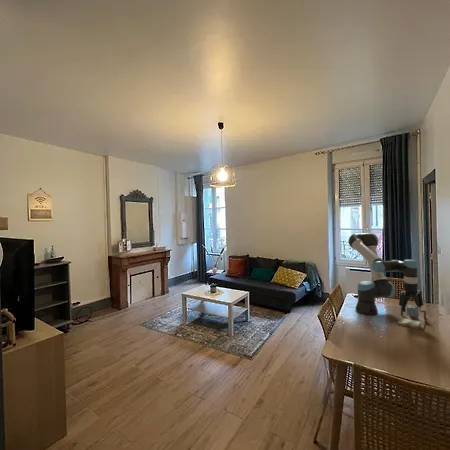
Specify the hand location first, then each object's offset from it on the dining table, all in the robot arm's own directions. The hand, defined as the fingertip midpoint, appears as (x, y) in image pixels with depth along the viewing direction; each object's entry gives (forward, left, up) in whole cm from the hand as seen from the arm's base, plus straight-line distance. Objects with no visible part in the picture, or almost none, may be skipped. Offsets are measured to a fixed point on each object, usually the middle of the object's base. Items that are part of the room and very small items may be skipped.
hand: (411, 316), depth 170 cm
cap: (0, 0, +1) cm, 1 cm away
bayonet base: (0, +8, -6) cm, 10 cm away
